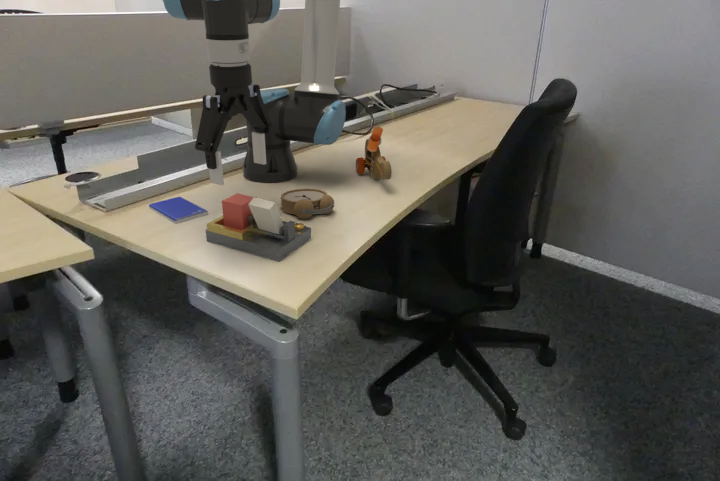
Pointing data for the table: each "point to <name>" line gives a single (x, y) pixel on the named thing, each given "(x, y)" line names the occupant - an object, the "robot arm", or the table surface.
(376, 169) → the wheeled toy
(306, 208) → the alarm clock
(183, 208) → the blue book
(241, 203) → the red toy cube
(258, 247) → the panel
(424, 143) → the table surface
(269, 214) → the toggle
